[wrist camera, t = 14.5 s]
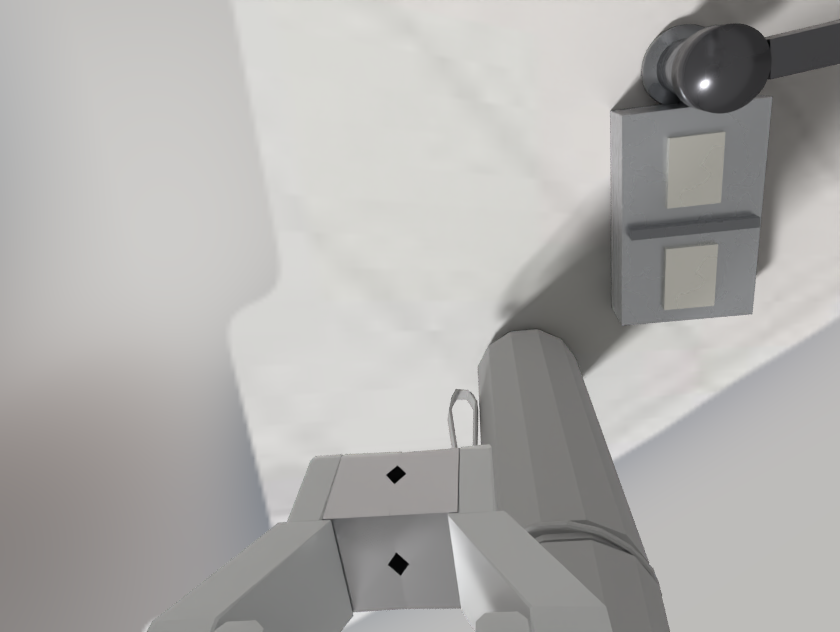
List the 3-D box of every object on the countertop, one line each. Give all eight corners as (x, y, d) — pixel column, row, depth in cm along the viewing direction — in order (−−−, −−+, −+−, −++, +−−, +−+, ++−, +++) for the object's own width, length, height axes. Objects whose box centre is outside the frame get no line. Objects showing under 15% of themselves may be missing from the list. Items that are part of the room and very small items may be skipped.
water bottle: (588, 327, 42) (732, 648, 20) (564, 420, 46) (663, 790, 23) (458, 308, 43) (451, 607, 20) (443, 403, 46) (422, 754, 23)
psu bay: (610, 110, 37) (625, 117, 33) (748, 93, 36) (779, 97, 32) (611, 307, 42) (624, 330, 38) (733, 296, 41) (758, 319, 37)
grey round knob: (641, 30, 35) (665, 28, 31) (721, 19, 34) (756, 15, 30) (640, 110, 37) (662, 118, 32) (716, 100, 36) (749, 107, 32)
